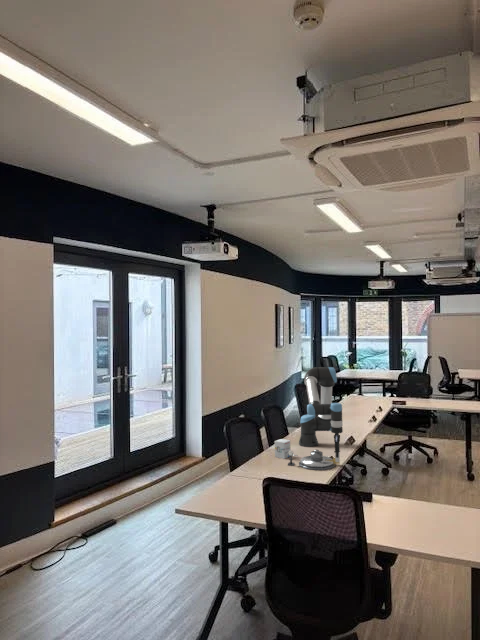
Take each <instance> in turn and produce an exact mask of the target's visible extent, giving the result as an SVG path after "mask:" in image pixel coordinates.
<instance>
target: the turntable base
mask: <svg viewBox="0 0 480 640" xmlns="http://www.w3.org/2000/svg"><path fill="white" fill-rule="evenodd" d="M298 466H299V467H300V468H303V469H306V470H309V471H326V470H327V471H328V470H332V469H334V468H335V467H336V464H333V465H332V466H329V467H324V468H312V467H307V466H304V465H302V464H301V463H300V461H299V462H298Z"/></svg>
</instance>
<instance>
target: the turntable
mask: <svg viewBox="0 0 480 640" xmlns="http://www.w3.org/2000/svg"><path fill="white" fill-rule="evenodd" d="M299 462H300V463H301V464H302V465H304V466H307V467H312V468H324V467H329V466H332V465H333V464H335V465H336V464H337V465H338V464H340V462H341V461H340V462H335V457H329V456H325V455H323V461H318V462H317V461H311V455H308V456H306V455H305V456H303V457H301V458H300V461H299Z"/></svg>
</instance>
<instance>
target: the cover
mask: <svg viewBox="0 0 480 640" xmlns="http://www.w3.org/2000/svg"><path fill="white" fill-rule="evenodd" d="M310 456H311V461H317V462H318V461H323V456H324V453H323V451H321V450H319V449H314V450H312V451H310Z"/></svg>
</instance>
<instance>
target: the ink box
mask: <svg viewBox="0 0 480 640" xmlns="http://www.w3.org/2000/svg"><path fill="white" fill-rule="evenodd" d="M290 450H291V440H290V439H284V438H280V439H277V440H274V458H279V459H283V460H285V459H287V458H290V456H289V455H288V452H289V451H290ZM291 451H292V450H291Z"/></svg>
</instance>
